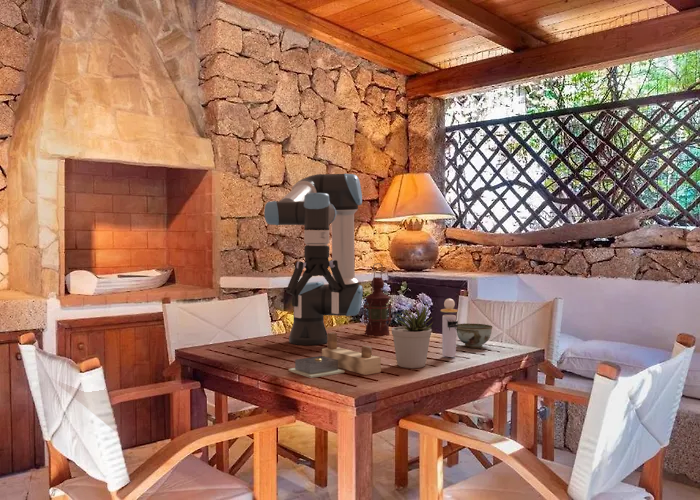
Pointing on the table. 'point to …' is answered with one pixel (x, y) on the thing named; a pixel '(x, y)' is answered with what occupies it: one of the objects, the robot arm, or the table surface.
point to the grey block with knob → (316, 364)
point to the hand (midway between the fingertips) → (316, 315)
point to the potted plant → (412, 340)
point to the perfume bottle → (449, 329)
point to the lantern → (377, 309)
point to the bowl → (474, 334)
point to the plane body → (352, 357)
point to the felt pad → (317, 373)
